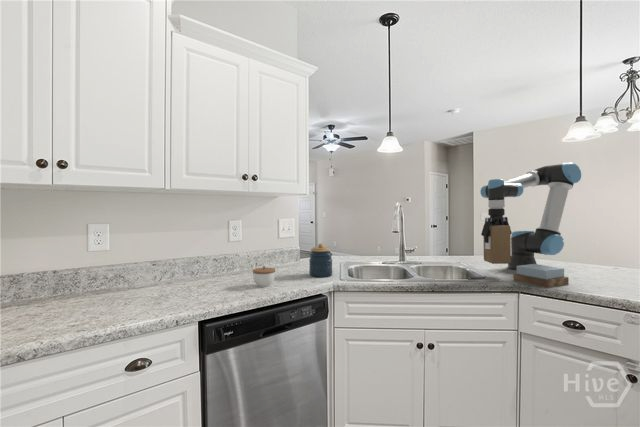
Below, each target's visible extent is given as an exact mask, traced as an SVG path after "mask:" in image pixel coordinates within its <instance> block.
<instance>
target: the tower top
mask: <svg viewBox="0 0 640 427" xmlns="http://www.w3.org/2000/svg"><path fill="white" fill-rule="evenodd" d="M516 273H517V274H520V275H525V276H531V277H536V278H541V279H552V278H559V277H564V276H565V268H564V267H557V266H550V265H545V264H538V263H537V264H529V265H520V266H517V270H516Z"/></svg>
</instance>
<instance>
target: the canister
mask: <svg viewBox="0 0 640 427" xmlns="http://www.w3.org/2000/svg"><path fill="white" fill-rule="evenodd" d="M331 251H332V249H330V248H329V247H327V246H324V245H323V243H318V245H317V246H315V247H313V248H310V253H309V254H308V255H309V260H308V261H309V272H308V273H309V276H310V277H313V278H314V277H315V278H329V277H331V276H332V275H333V259H332V256H333V253H332V252H331ZM328 276H329V277H328Z"/></svg>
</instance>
